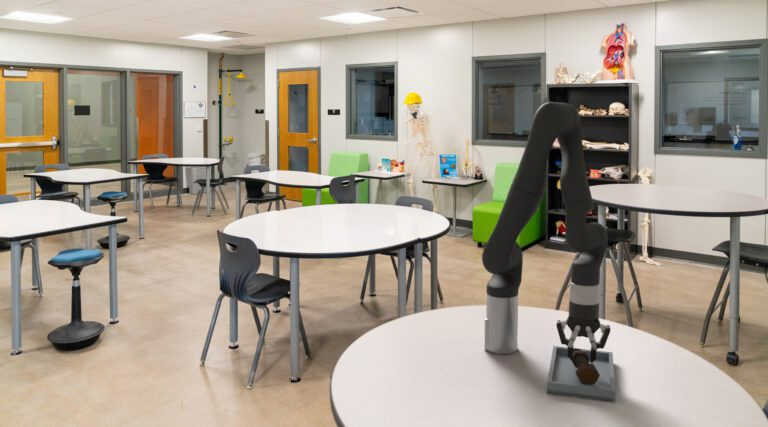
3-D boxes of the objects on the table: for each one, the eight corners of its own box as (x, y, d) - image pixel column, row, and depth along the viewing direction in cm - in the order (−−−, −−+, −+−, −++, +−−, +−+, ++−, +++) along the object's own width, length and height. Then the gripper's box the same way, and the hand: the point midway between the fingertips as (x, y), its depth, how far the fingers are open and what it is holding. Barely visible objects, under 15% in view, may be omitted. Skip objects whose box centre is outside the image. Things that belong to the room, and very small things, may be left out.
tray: (546, 393, 151) (547, 382, 150) (553, 355, 173) (553, 345, 173) (614, 402, 146) (615, 391, 145) (612, 362, 168) (612, 352, 167)
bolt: (578, 365, 166) (590, 389, 151) (562, 356, 166) (573, 379, 151) (590, 348, 165) (603, 371, 150) (574, 339, 165) (586, 361, 150)
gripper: (554, 301, 154) (552, 363, 158) (614, 306, 150) (610, 369, 153) (556, 292, 161) (554, 351, 164) (613, 297, 157) (609, 358, 160)
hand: (581, 360), depth 159 cm, fingers closed on bolt, 4 cm apart
